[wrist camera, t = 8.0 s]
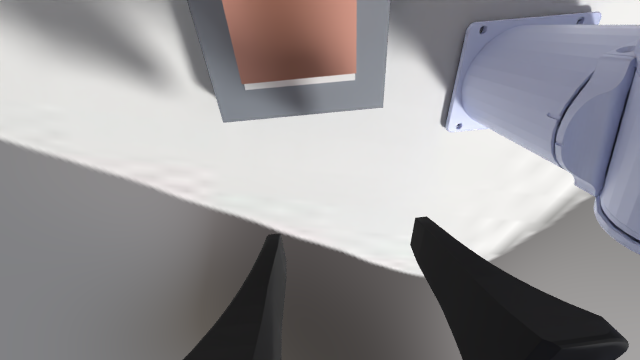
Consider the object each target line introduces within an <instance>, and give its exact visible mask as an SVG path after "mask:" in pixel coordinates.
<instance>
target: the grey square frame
mask: <svg viewBox="0 0 640 360" xmlns="http://www.w3.org/2000/svg"><path fill="white" fill-rule="evenodd" d="M187 1H188V5H189V8H190V12H191V15H192V18H193V22H194V25H195V28H196V32H197V35H198V39H199V42H200V45H201V49H202V52H203V55H204V59H205V62H206V65H207V69H208V72H209V76H210V79H211V82H212V86H213V89H214V92H215V96H216V99H217V103H218V106H219V109H220V113H221V116H222V119H223V123H224V122H235V121H246V120H256V119H267V118H277V117H288V116H298V115H309V114H319V113H330V112H340V111H351V110H362V109H372V108H383V99H384V85H385V70H386V56H387V42H388V27H389V13H390V0H357V39H356V73H355V74H344V75H334V76H324V77H313V78H303V79H293V80H282V81H272V82H262V83H251V84H242V83H241V79H240V74H239V70H238V66H237V62H236V58H235V53H234V49H233V45H232V41H231V37H230V33H229V28H228V24H227V20H226V16H225V12H224V7H223V3H222V0H187Z"/></svg>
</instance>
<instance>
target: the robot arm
mask: <svg viewBox="0 0 640 360" xmlns="http://www.w3.org/2000/svg"><path fill="white" fill-rule="evenodd" d="M578 19H579V22H578V23H577V21H578ZM600 20H601V13H600V12H586V13H574V14H563V15H551V16H540V17H528V18H516V19H505V20H493V21H482V22H474V23H472V24H470V25H469V27H468V28H467V31H466V35H465V39H464V44H463V48H462V53H461V58H460V62H459V67H458V71H457V76H456V81H455V85H454V90H453V94H452V99H451V103H450V108H449V113H448V117H447V122H446V130H447V131H449V132H459V131H469V130H479V129H491V130H493V131H495V132H496V133H498V134H500V135H502V136H504V137H506V138H507V139H509V140H511V141H513V142H515V143H517V144H519V145H520V146H522V147H524V148H526V149H528V150H530V151H531V152H533V153H535V154H537V155H539V156H541V157H542V158H544V159H546V160H548V161H550V162H552V163H553V164H555V165H557V166H559V167H561V168H563V169H565V170H566V171H568V172H569V173H571V174H572V175H573V176H574V179H575V185H576V186H577V187H579V188H581V189H582V190H584V191H586V192H588V193H589V194H591V195H593V196H595V197H596V199H595V203H594V212H595V216H596V219H597V220H598V222H599V224H600V226H601V227H602V228H603V229H604V230H605V231H606V232H607V233H608V234H609V235H610V236H611V237H612V238H614V239H615V240H616V241H617V242H619V243H620V244H622V245H623V246H625V247H626V248H628V249H630V250H631V251H634V252H635V253H637V254H639V255H640V25H598V24H599V22H600ZM482 26H483V31H482V33H481V34H480V33H479V31H480V28H481V27H482ZM459 123H460V125H459V126H458V127H456V126H457V125H458V124H459ZM410 245H411V248H412V250H413V253H414V256H415V258H416V261H417V263H418V265H419V267H420V269H421V270H422V272H423V274H424V276H425V278H426V280H427V281H428V283H429V285H430V287H431V289H432V291H433V293H434V294H435V296H436V298H437V300H438V302H439V304H440V306H441V308H442V310H443V312H444V315H445V317H446V319H447V322H448V324H449V326H450V329H451V331H452V333H453V336H454V338H455V341H456V343H457V346H458V348H459V351H460V354H461V356H462V359H463V360H615V359H617V358H618V357H620V356H621V355H622V354H623V353H624V352H626V351H627V349H628V347H629V346H628V345H629V344H628V341H627V340H626V339H625V338H624V337H623V336H622V335H621V334H620V333H619V332H617V330H615V329H614V328H613V327H612V326H611V325H610V324H609V323H608V322H607V321H606V320H605V319H604V318H603V317H601V316H599V315H596V314H594V313H591V312H589V311H586V310H584V309H581V308H579V307H576V306H574V305H571V304H569V303H567V302H564V301H562V300H560V299H558V298H556V297H553V296H551V295H549V294H547V293H545V292H542V291H540V290H538V289H536V288H534V287H532V286H530V285H529V284H527V283H525V282H523V281H521V280H519V279H517V278H515V277H513V276H512V275H510V274H508V273H506V272H504V271H502V270H501V269H499V268H498V267H496V266H494V265H492V264H491V263H489V262H488V261H486V260H485V259H483V258H482V257H480V256H479V255H477V254H476V253H474V252H473V251H471V250H470V249H469V248H467V247H466V246H464V245H463V244H462V243H460V242H459V241H458V240H456V239H455V238H454V237H452V236H451V235H450V234H448V233H447V232H446V231H445V230H443V229H442V228H441V227H439V226H438V225H437V224H436V223H434V222H433V221H432V220H431V219H429V218H428V217H419V218H415V223H414V228H413V233H412V239H411V244H410ZM285 287H286V257H285V253H284V248H283V243H282V239H281V234H271V235H268V236H267V238H266V240H265V243H264V245H263V248H262V250H261V252H260V254H259V256H258V258H257V260H256V262H255V264H254V266H253V268H252V270H251V272H250V273H249V275H248V277H247V278H246V280H245V282H244V284H243V285H242V287H241V288H240V290H239V291H238V293H237V294H236V296H235V298H234V299H233V300H232V302H231V303H230V305H229V306H228V307H227V309H226V310H225V311H224V313H223V314H222V315H221V317H220V318H219V319H218V321H217V322H216V323H215V324H214V326H213V327H212V328H211V329H210V330H209V331H208V333H207V334H206V335H205V336H204V337H203V338H202V340H201V341H200V342H199V343H198V344H197V345H196V346H195V348H194V349H193V350H192V351H191V352H190V353H189V354H188V355H187V356H186V357H185V358H184V359H183V360H281V333H282V318H283V308H284V298H285Z"/></svg>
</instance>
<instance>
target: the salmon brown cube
mask: <svg viewBox="0 0 640 360" xmlns="http://www.w3.org/2000/svg"><path fill="white" fill-rule="evenodd" d="M222 3H223V7H224V12H225V16H226V20H227V24H228V28H229V33H230V37H231V41H232V45H233V49H234V53H235V58H236V62H237V66H238V70H239V74H240V79H241V83H242V84H251V83H262V82H272V81H282V80H293V79H303V78H313V77H324V76H334V75H344V74H355V73H356V39H357V0H222Z"/></svg>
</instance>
